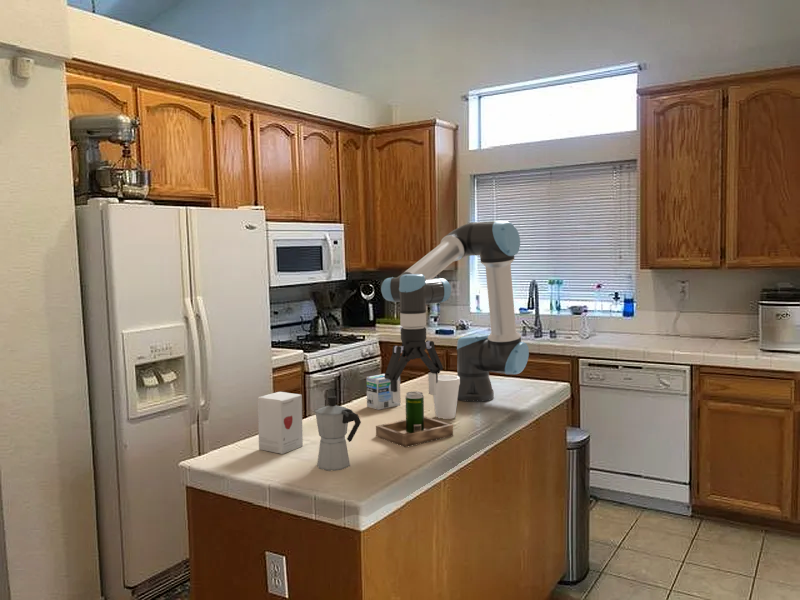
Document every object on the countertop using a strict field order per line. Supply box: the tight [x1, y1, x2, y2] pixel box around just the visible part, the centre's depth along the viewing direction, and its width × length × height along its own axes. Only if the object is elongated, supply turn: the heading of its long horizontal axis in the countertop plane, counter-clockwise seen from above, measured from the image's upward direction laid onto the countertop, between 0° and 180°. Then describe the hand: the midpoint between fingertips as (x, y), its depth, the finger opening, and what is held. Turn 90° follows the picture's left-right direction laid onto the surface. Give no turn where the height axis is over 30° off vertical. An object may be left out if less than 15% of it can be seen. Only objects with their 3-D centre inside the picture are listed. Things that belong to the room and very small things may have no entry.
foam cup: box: [432, 374, 460, 420], centre depth 217 cm, size 10×9×13 cm
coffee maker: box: [312, 395, 362, 472], centre depth 169 cm, size 15×9×18 cm, turn 58°
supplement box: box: [257, 391, 304, 455], centre depth 184 cm, size 9×9×15 cm
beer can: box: [405, 391, 425, 434], centre depth 195 cm, size 5×5×12 cm
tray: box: [375, 415, 454, 448], centre depth 195 cm, size 18×14×3 cm
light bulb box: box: [366, 373, 401, 410], centre depth 232 cm, size 11×7×11 cm, turn 132°
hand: (415, 398), depth 194 cm, fingers open, 13 cm apart
